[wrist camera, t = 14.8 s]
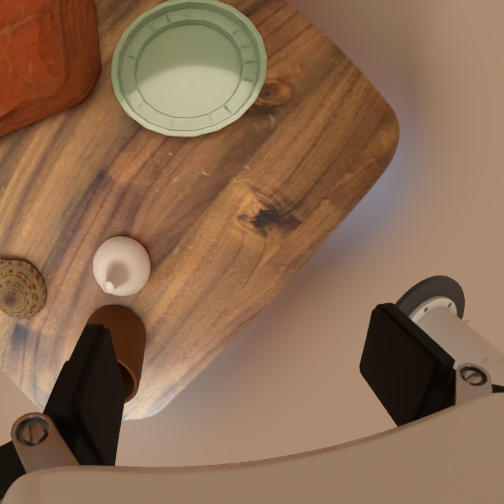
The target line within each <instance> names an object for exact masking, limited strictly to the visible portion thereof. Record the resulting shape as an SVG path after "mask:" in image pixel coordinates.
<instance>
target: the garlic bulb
mask: <svg viewBox="0 0 504 504" xmlns="http://www.w3.org/2000/svg"><path fill="white" fill-rule="evenodd" d="M93 273H94V276H95V278H96V280H97V282H98V284H99V285H100V286H101V287H102V289H103V290H104V291H105V292H107V293H111V294H113V295H117V296H128V295H132V294H134V293H136V292H138V291H139V290H140V289H142V287H143V286H144V285H145V284H146V282H147V280H148V278H149V275H150V260H149V256H148V254H147V252H146V250H145V249H144V248H143V246H142V245H141V244H140V243H138V242H137V241H135V240H133V239H131V238H129V237H124V236H117V237H113V238H110V239H108V240H106V241H105V242H104V243H103V244H102V245H101V246H100V247H99V248H98V250H97V251H96V253H95V256H94V260H93Z"/></svg>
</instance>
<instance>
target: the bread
mask: <svg viewBox="0 0 504 504" xmlns="http://www.w3.org/2000/svg"><path fill="white" fill-rule="evenodd" d="M100 69H101V63H100V55H99V45H98V34H97V22H96V9H95V6H94V3H93V0H0V137H1V136H3V135H6V134H8V133H10V132H12V131H15V130H17V129H19V128H21V127H24V126H26V125H29V124H31V123H33V122H36V121H38V120H40V119H43V118H45V117H47V116H49V115H52V114H54V113H56V112H59V111H61V110H63V109H66V108H68V107H71V106H73V105H76V104H79V103H80V102H81V101H82V100H83V99H84V98H85V97H86V96H87V95H88V94H89V93H90V92H91V90H92V89H93V87H94V85H95V82H96V80H97V77H98V74H99V72H100Z"/></svg>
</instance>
